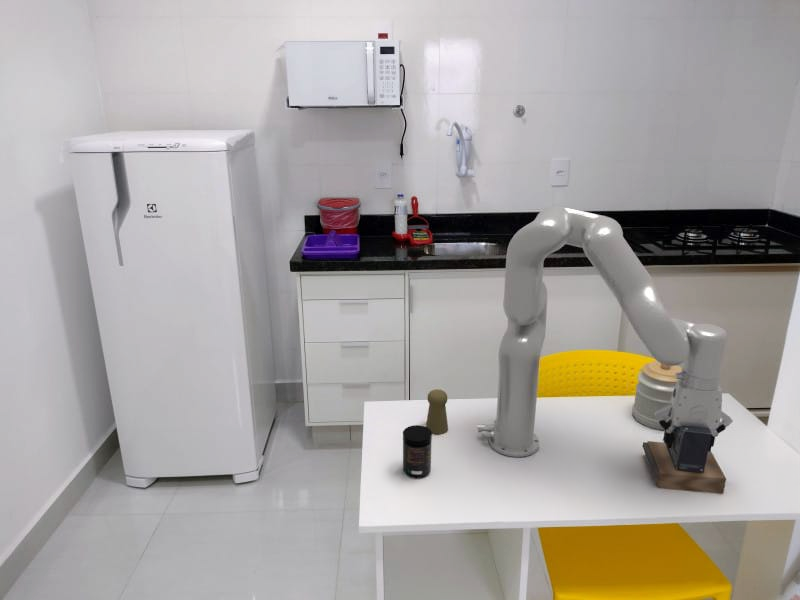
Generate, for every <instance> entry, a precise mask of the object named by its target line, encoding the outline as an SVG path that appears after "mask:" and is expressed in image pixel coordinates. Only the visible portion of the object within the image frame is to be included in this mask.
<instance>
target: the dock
mask: <svg viewBox="0 0 800 600" xmlns="http://www.w3.org/2000/svg"><path fill="white" fill-rule="evenodd" d="M641 447H642V449H643V451H644V456H645V458H646V460H647V463H648V466H649V468H650V471H651V474H652V477H653V478H654V481H655V485H656V487H657V488H658V489H665V490H677V491H689V492H702V493H709V494H710V493H711V494H724V491H725V486H726V481H727V477H726V476H725V474H724V472H723V470H722V468H721V467H720V464H719V463H718V461H717V460H716V457H715V456H714V454H713V452H712V450H711V451H710V452H708V455H707V459H706V464H705V469H704V473H701V472H692V471H683V470H676V469H675V466H674V464H673V461H672V459H671V456H670V454H669V451H668V448H667V446H666V443H664V441H662V442H661V441H648V440H647V442H646V441H643V442H642V446H641Z"/></svg>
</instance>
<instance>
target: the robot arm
mask: <svg viewBox="0 0 800 600" xmlns="http://www.w3.org/2000/svg"><path fill="white" fill-rule="evenodd" d="M565 245H569V246H572V247H578V248H581V249H582V250H583V252H584V254H585V256H586V258H587V259H588V261H590V264H591V265H592V266H593V267H594V269H595V270H596V271H597V274H599V276H600V278H601V279H602V280H603V281H604V283H605V284H606V285H607V287H608V289H609V290H610V291H611V293H612V295H613V296H614V297H615V298H616V300H617V302H618V304H619V306H620V308H621V309H622V311H623V313H624V314H625V317H627V319H628V322H629V323H630V325H631V326H632V329H633V330H634V331H635V333H636V335H637V336H638V338H639V339H640V342H642V344H643V345H644V346H645V347H646V349H647V351H648V352H649V353H650V354H651V357H653V359H655V361H658V362H660V363H661V364H664V365H667V366H676V365H678V366H680V365H681V364H683V365H682V366H683V367H681V368H682V371H681V372H679V373H675V378H676V379H680V380H678V382H677V384H676V386H675V388H674V391H673V394H672V397H671V401H670V405H668V406H666V407H664V408H662V409H660V410H658V411H655V412H654V415H655V417H656V419H657V420H658V422H659V423H660V425H661V426H662V427H663V428H664V429H665V430H663V431H664V432H663V437H662V438H663V441H662V442H664V443H666V445H667V447H668V448H672V442H673V437H674V434H673V432H672V431H673V430H674V429H675V428H676V427H681V426H695V427H704V428H709V429H710V431H711V433H712V436H711V441H710V445H709V450H708V452H710V451H711V452H712V447H714V445H715V440H716V437H718V436H719V434H721V432H723V431H725V430H726V428H727V427H729V426H730V425H731V424H732V423H733V421H734V420H733V419H732V418H731V417H730V415H728V414H727V413H726V412H724V411H722V409H723V408H722V407H723V389H722V387H721V386H720V384H719V383H720V379H721V373H722V367H723V364H724V358H725V353H726V348H727V343H728V334H727V331H726V330H725V329H724V328H722V327H721V326H718V325H716V324H711V323H710V324H709V323H695V322H691V321H686V320H683V319H679V318H676V317H670V315H669V313H668V312H667V309H666V308H665V307H664V305H663V302H662V301H661V299H660V296H659V294H658V290H657V286H656V285H655V283H654V281H653V278H652V276H651V274H650V273H649V272H648V271H647V268H646V267H645V266H644V265H643V264H642V262H641V261H640V259H639V258H638V256H637V255H636V253H635V252H634V251H633V249H632V247H631V246H630V245H629V243H628V242H627V240H626V239H625V238H624V232H623V229H622V226H621V224H619V222H618V221H617V220H616V219H614V218H612V217H609V216H606V215H601V214H597V213H592V212H588V211H582V210H578V209H574V208H570V207H565V206H559V205H554V206H553V205H552V206H548V207H545V208H544V209H542V210H541V211H540V212H539V213H538V214H537V215H536V217H535V219H534V220H533V221H531V222H530V223H528V224H526V225H525V226H523V227H522V228H520V229H518V230H517V232H516V233H515V234H514V235H513V237H512V238H511V239H510V241H509V243H508V246H507V251H506V257H505V258H506V260H505V274H504V289H503V290H504V291H503V302H502V303H503V304H502V305H503V312H504V314H505V316H506V318H507V328H506V330H505V332H504V334H503V336H502V339H501V342H500V344H499V347H498V348H499V349H498V383H497V401H496V403H497V404H496V417H495V418H496V419H495V420H494V423H491V424H479V423H477V433H481V437H487V438H488V443H489V445H490V447H491V448H492V449H493V450H495V452H497V453H499V454H501V455H504V456H508V457H514V458H522V457H528V456H530V455H533V454H535V453H536V452H537V451H538V450H539V448H540V439H539V437H538V436H537V435H536V434H535V423H536V412H537V411H536V410H537V401H538V399H537V398H538V389H539V388H538V387H539V371H540V361H541V353H542V350H543V346H544V345H543V344H544V342H545V338H546V329H547V326H546V325H547V311H548V310H547V309H548V290H547V287H546V284H545V283H544V281H543V276H544V261H545V259H546V258H547V257H548V256H549V255H550V254H553V253H555V252H556V251H559V250H560V249H562V247H564V246H565ZM667 414H668V416H669V417H670V418H669V419H668V420H667V421H665V420H664V419H663V416H665V415H667Z"/></svg>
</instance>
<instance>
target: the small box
mask: <svg viewBox="0 0 800 600" xmlns="http://www.w3.org/2000/svg"><path fill="white" fill-rule="evenodd" d="M672 432H673V434H674V437H673V442H672V448H668V447H667V448H668V451H669V454H670V456H671V459H672V461H673V464H674V466H675V469H676V470H683V471H692V472H701V473H704V469H705V464H706V459H707V455H708V450H709V445H710V441H711V436H712V433H711V431H710V429H709V428H704V427H695V426H681V427H676V428H675V429H674V430H673V431H672ZM666 446H667V445H666Z"/></svg>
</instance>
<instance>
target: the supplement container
mask: <svg viewBox="0 0 800 600" xmlns="http://www.w3.org/2000/svg"><path fill="white" fill-rule="evenodd" d="M432 436H433V434H432V432H431V430H430V429H429V428H427V427H426V425H425V426H424V425H418V424H417V425H410V426H408V427H405V428H404V430H403V431H402V470H403V472H404V474H405V475H406V476H407V477H409V478H413V479H423V478H425V477H427V476H428V475H429V474H430V472H431V470H432V441H433V439H432Z"/></svg>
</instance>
